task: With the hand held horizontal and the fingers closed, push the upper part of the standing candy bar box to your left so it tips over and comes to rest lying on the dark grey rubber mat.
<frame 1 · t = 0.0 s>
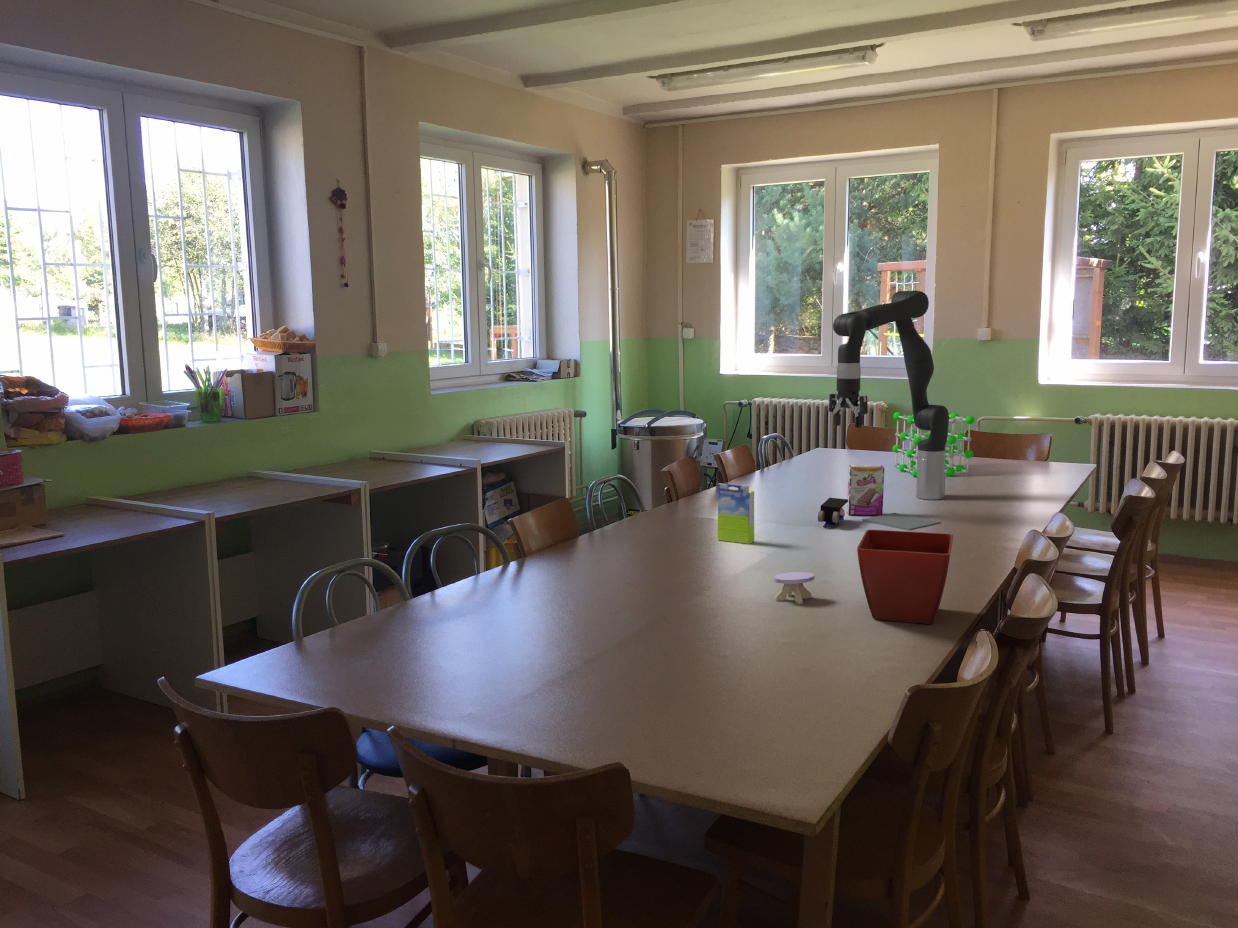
hand: (847, 426, 317), 29 cm above the table, tool pointing down, fingers open, 8 cm apart
plant pot: (903, 614, 217), on the table
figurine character: (832, 525, 308), on the table
box: (735, 541, 287), on the table
molecular structure model: (930, 472, 401), on the table
candy bar box: (864, 515, 321), on the table
toy table: (793, 599, 230), on the table
mat: (901, 521, 310), on the table
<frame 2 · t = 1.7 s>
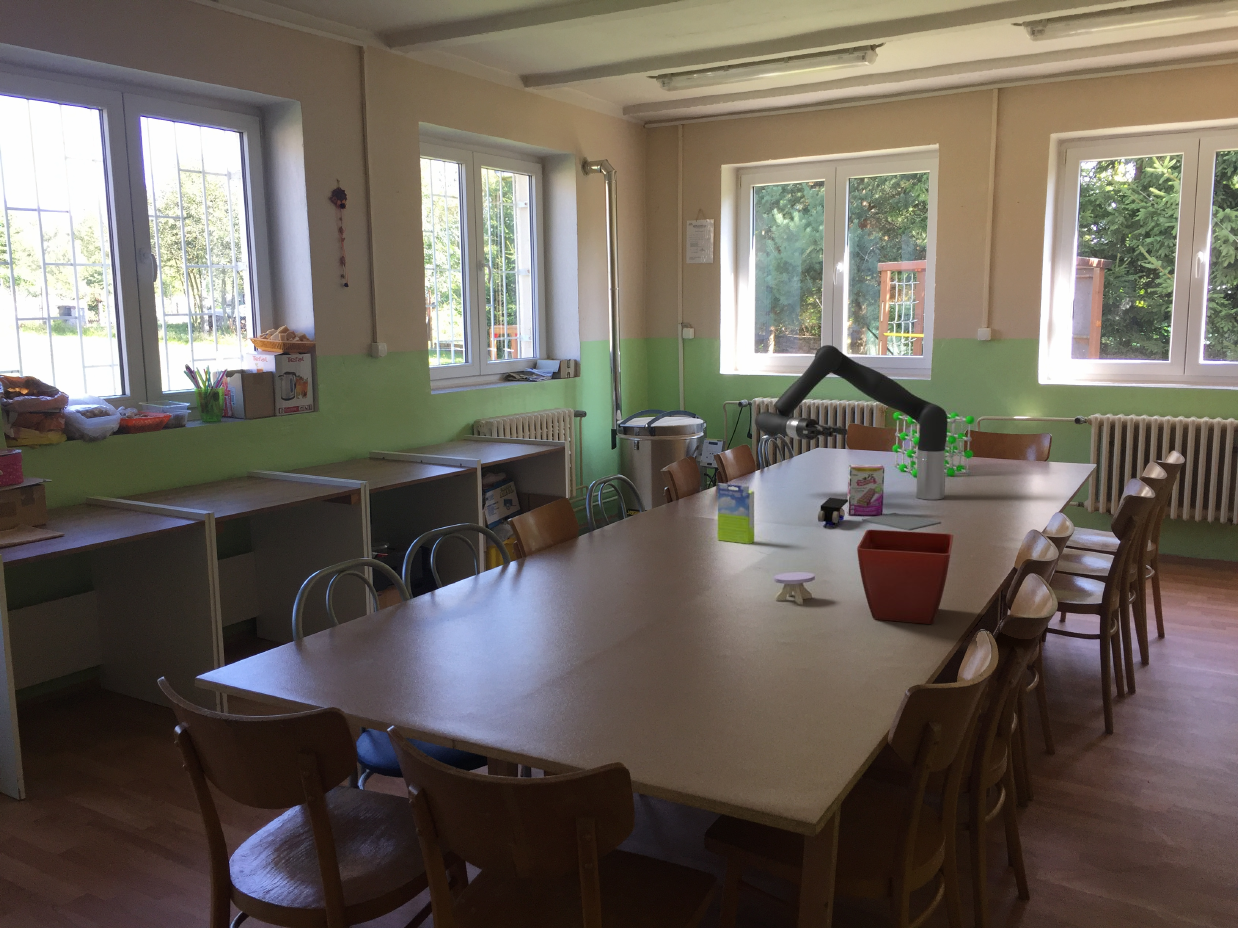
hand: (839, 432, 326), 26 cm above the table, tool horizontal, fingers open, 6 cm apart
nothing on the table moved.
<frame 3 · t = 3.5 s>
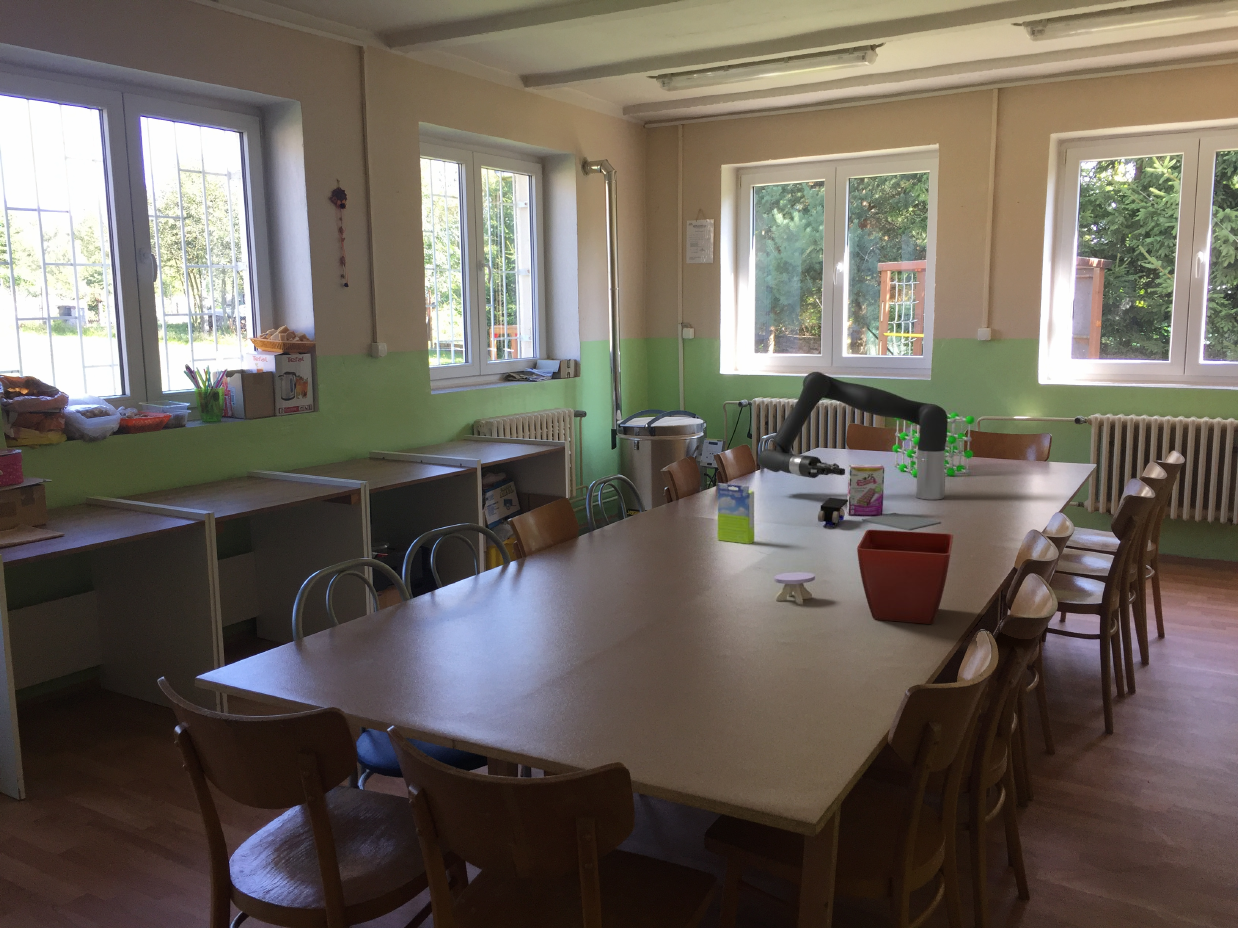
hand: (843, 472, 327), 13 cm above the table, tool horizontal, fingers closed
nothing on the table moved.
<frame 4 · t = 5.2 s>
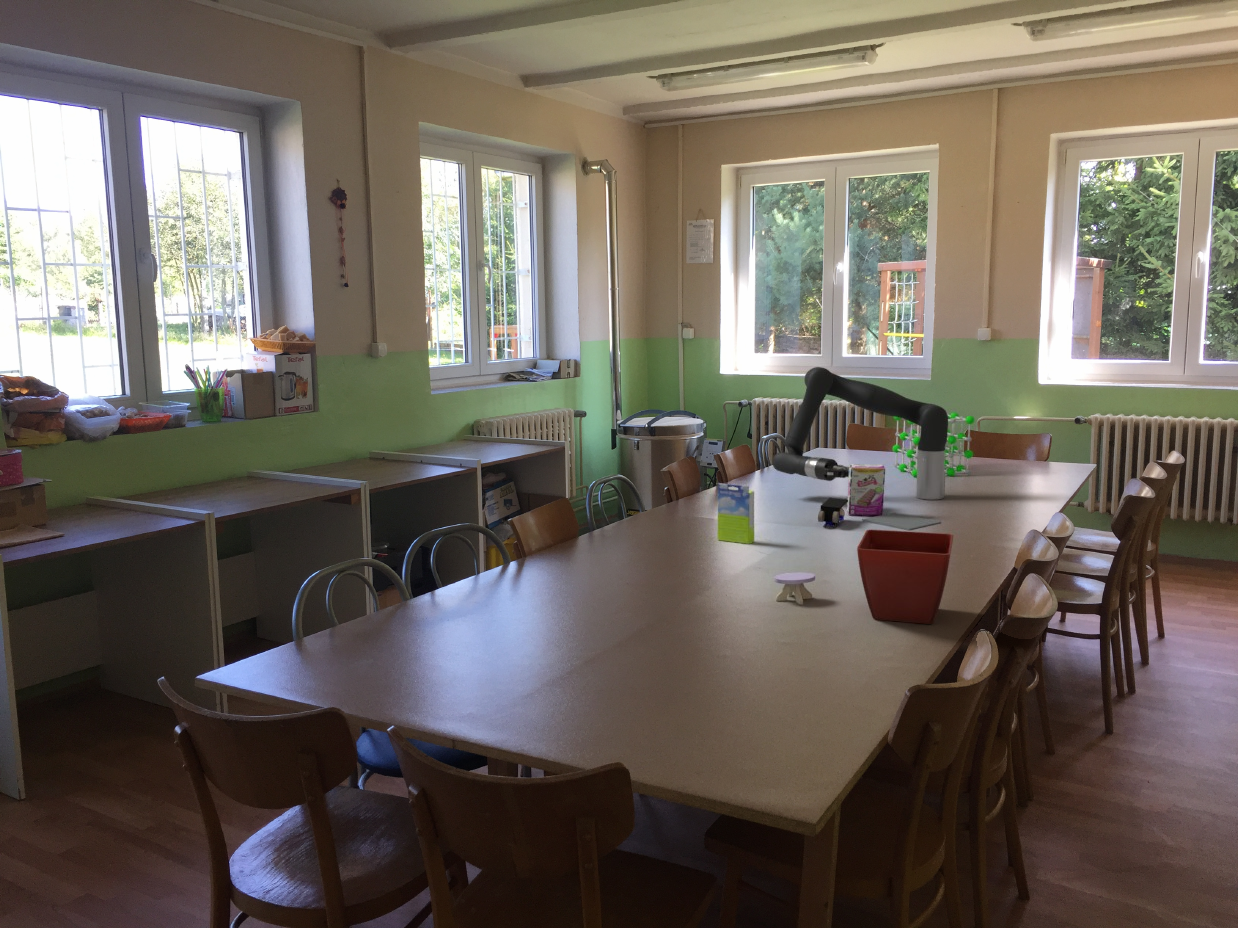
hand: (860, 474, 321), 13 cm above the table, tool horizontal, fingers closed
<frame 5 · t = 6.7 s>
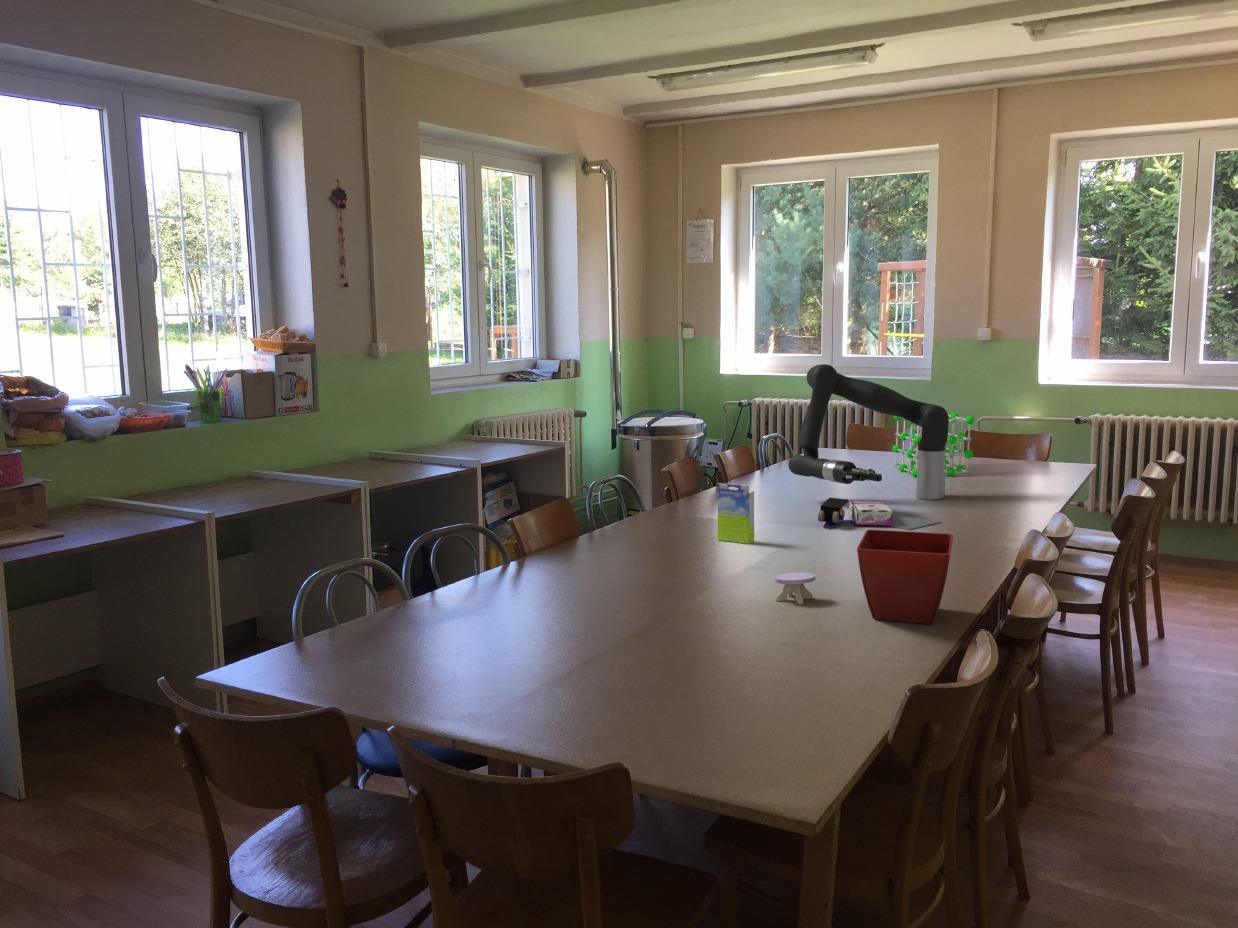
hand: (880, 478, 314), 13 cm above the table, tool horizontal, fingers closed
candy bar box: (866, 507, 319), point 3 cm above the table, touching mat
everything else where it was.
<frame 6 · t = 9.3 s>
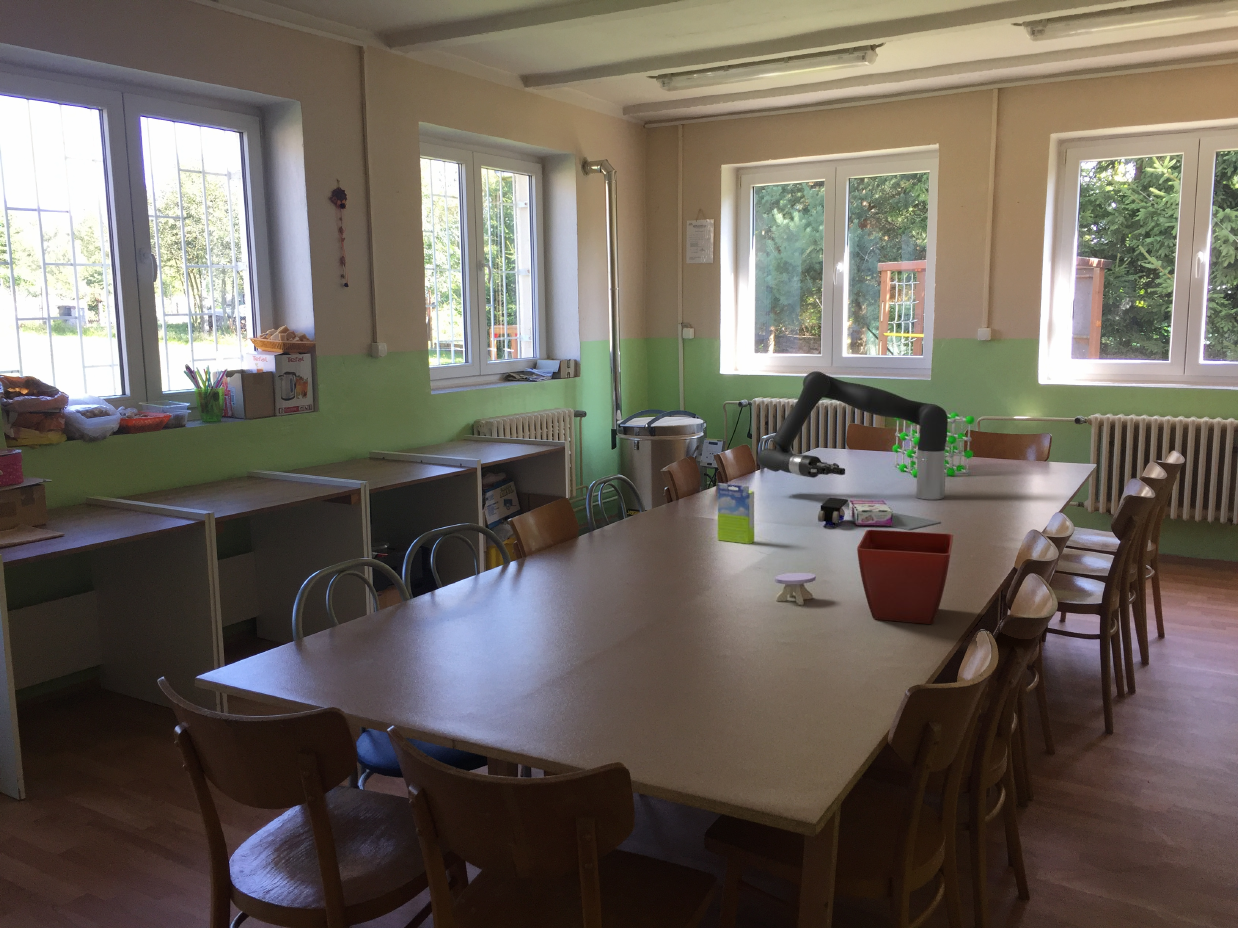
hand: (843, 471, 326), 13 cm above the table, tool horizontal, fingers closed
nothing on the table moved.
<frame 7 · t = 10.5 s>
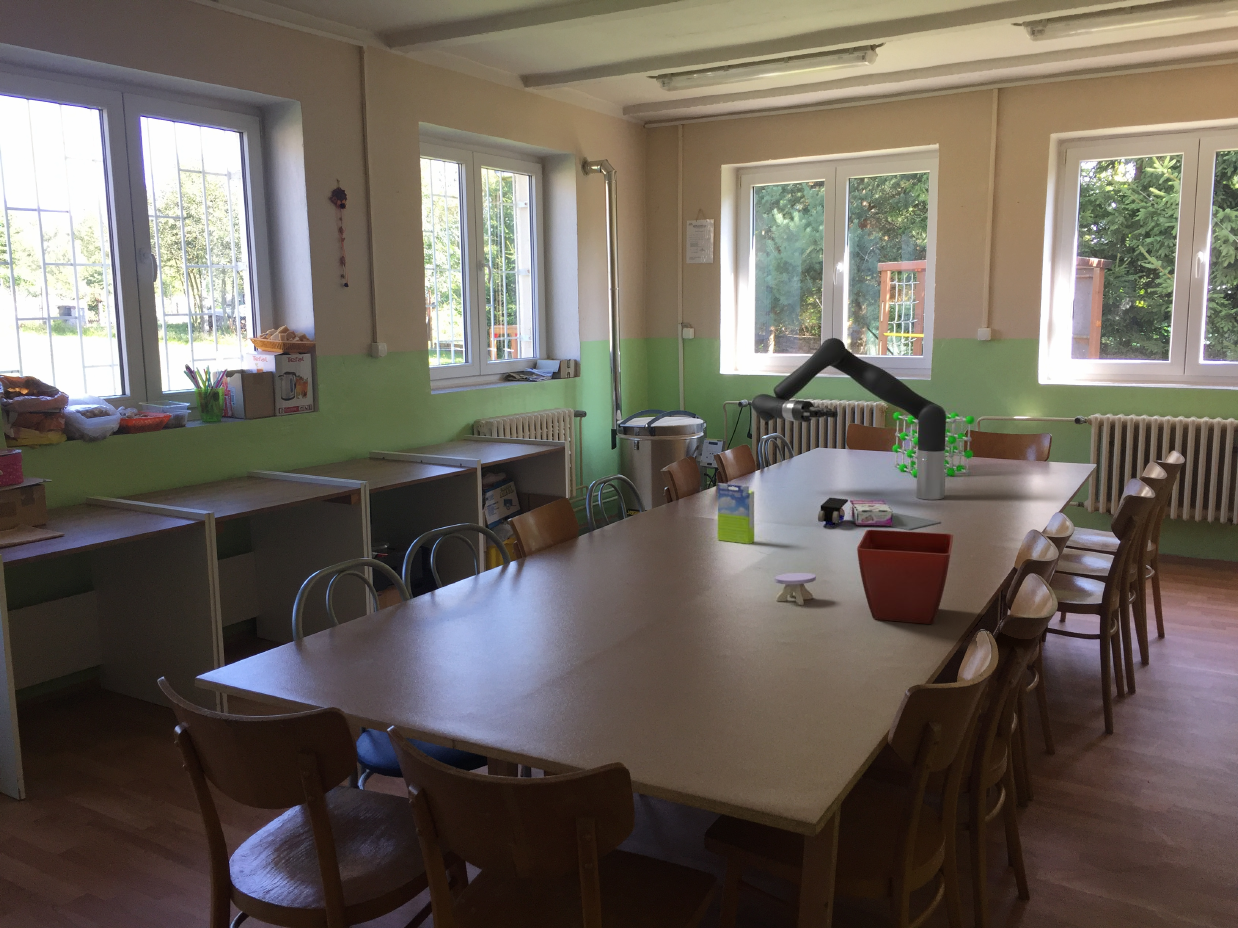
hand: (836, 414, 329), 32 cm above the table, tool horizontal, fingers closed
nothing on the table moved.
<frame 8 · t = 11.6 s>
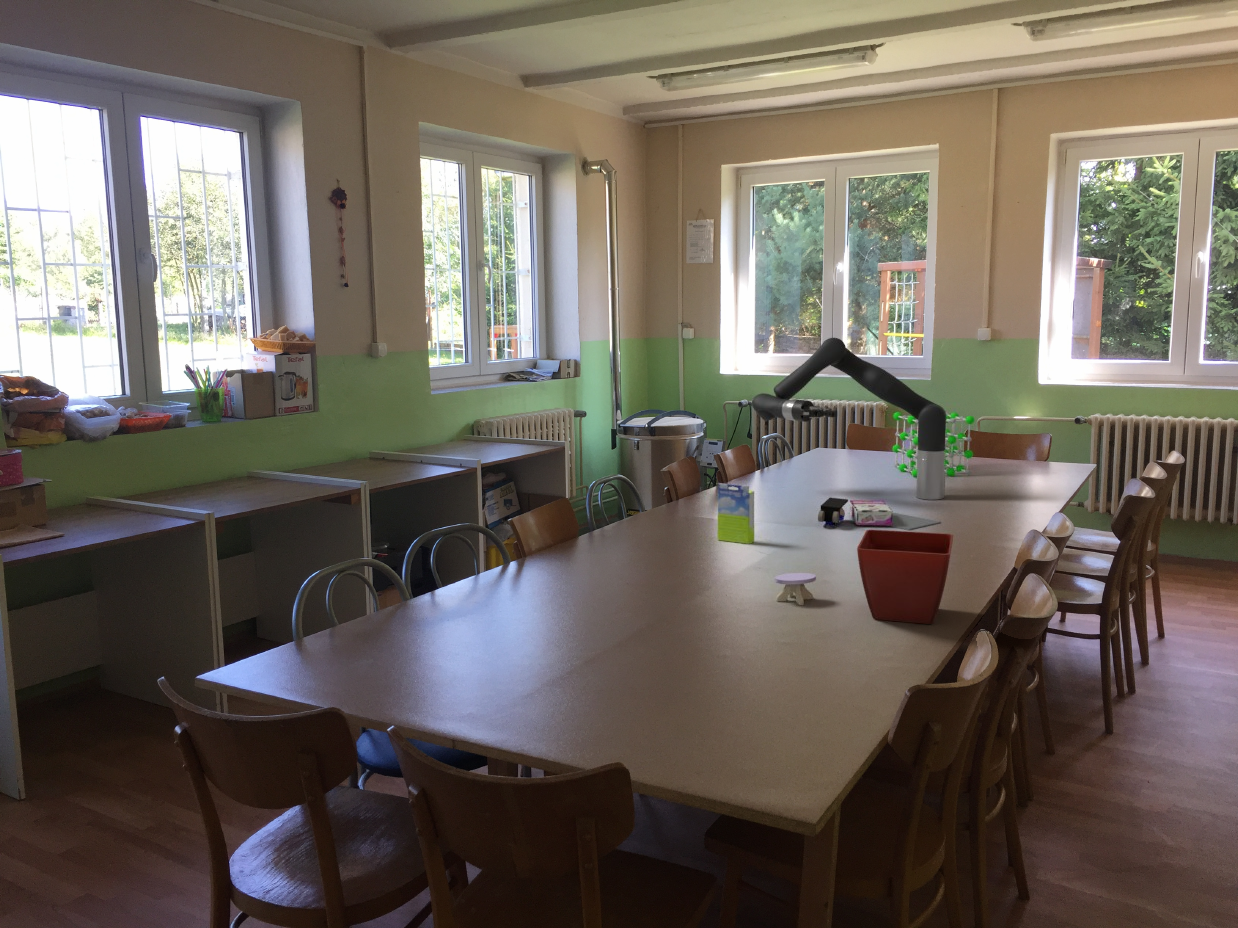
hand: (835, 414, 329), 32 cm above the table, tool horizontal, fingers closed
nothing on the table moved.
at the end: candy bar box tilted 90°; candy bar box touching mat; the gripper is holding nothing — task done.
